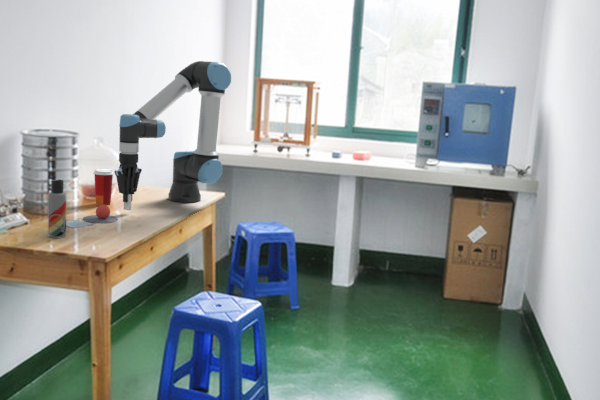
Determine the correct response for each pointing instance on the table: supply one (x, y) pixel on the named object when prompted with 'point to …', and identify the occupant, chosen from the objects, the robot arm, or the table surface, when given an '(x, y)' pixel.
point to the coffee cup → (103, 186)
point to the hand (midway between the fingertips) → (127, 209)
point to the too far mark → (77, 223)
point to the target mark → (98, 220)
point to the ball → (102, 211)
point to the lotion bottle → (57, 210)
